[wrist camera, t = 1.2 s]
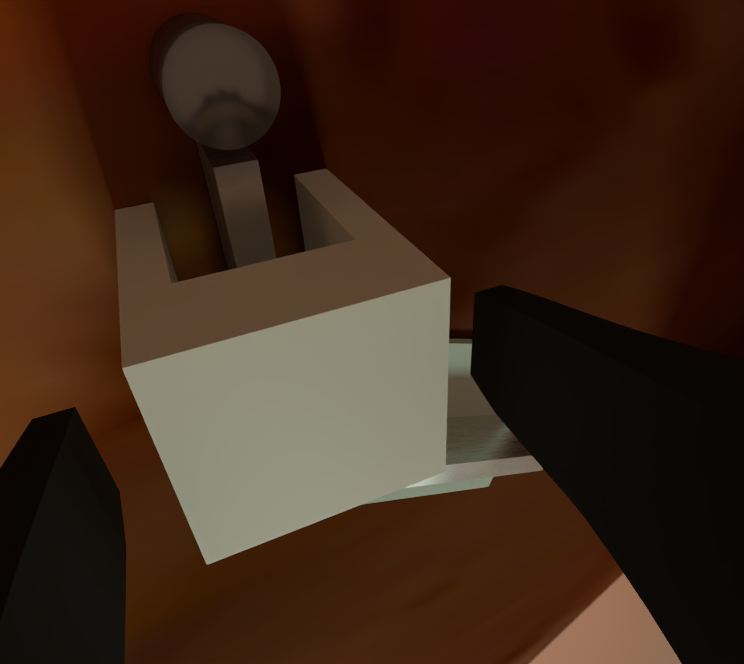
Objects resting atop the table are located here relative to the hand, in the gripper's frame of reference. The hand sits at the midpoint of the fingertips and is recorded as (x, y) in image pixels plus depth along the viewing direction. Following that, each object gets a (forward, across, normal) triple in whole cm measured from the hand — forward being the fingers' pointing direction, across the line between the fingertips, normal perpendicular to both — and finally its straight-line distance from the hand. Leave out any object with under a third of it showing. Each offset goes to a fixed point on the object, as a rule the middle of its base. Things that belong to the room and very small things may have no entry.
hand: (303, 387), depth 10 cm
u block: (+5, 0, 0) cm, 5 cm away
